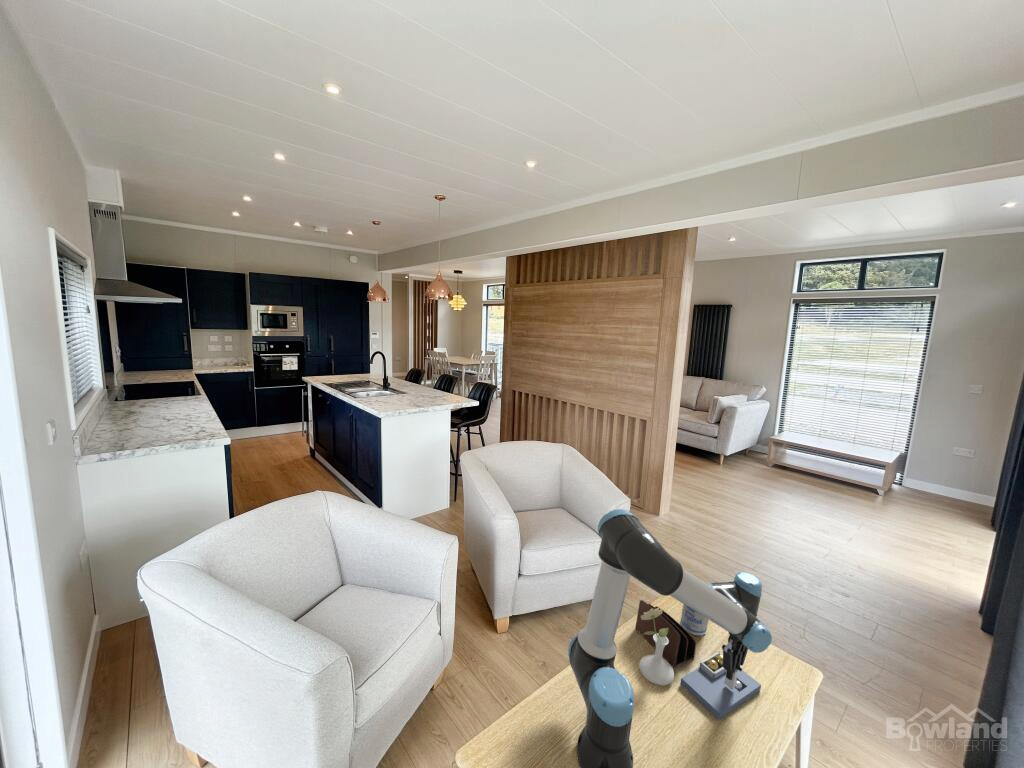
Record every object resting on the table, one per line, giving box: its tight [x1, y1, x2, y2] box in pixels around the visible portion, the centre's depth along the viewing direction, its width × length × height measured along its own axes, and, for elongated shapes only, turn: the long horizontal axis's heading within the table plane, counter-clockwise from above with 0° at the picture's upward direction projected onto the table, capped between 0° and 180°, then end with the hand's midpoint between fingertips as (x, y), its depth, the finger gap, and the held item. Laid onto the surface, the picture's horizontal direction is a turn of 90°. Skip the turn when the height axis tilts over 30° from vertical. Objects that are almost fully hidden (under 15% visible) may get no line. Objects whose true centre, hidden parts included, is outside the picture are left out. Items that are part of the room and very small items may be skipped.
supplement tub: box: [680, 603, 709, 636], centre depth 165 cm, size 10×10×15 cm
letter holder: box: [635, 599, 697, 669], centre depth 156 cm, size 10×20×14 cm, turn 26°
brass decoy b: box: [715, 653, 723, 667], centre depth 145 cm, size 4×4×4 cm
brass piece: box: [707, 659, 718, 672], centre depth 143 cm, size 4×4×4 cm
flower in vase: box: [638, 607, 675, 686], centre depth 141 cm, size 13×11×25 cm
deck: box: [679, 651, 762, 721], centre depth 139 cm, size 22×14×4 cm, turn 120°
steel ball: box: [735, 680, 743, 692], centre depth 139 cm, size 3×3×3 cm
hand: (729, 685), depth 136 cm, fingers closed
